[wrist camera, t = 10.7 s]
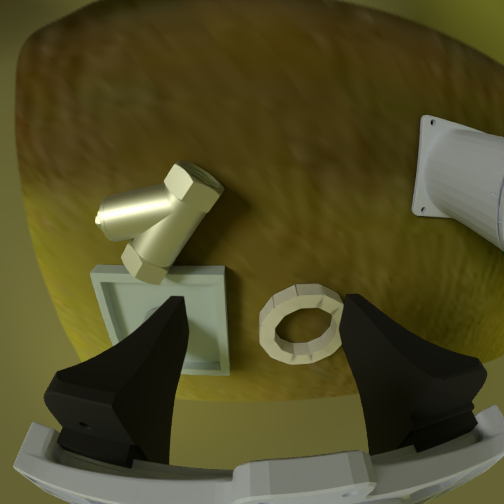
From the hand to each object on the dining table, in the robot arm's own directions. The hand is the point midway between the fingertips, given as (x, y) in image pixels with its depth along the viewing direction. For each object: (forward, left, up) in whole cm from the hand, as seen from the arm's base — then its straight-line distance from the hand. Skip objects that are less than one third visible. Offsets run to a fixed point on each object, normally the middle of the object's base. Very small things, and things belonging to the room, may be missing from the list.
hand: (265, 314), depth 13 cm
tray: (+8, +8, -9) cm, 15 cm away
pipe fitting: (+7, -2, -10) cm, 13 cm away
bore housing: (-4, +8, -9) cm, 13 cm away
